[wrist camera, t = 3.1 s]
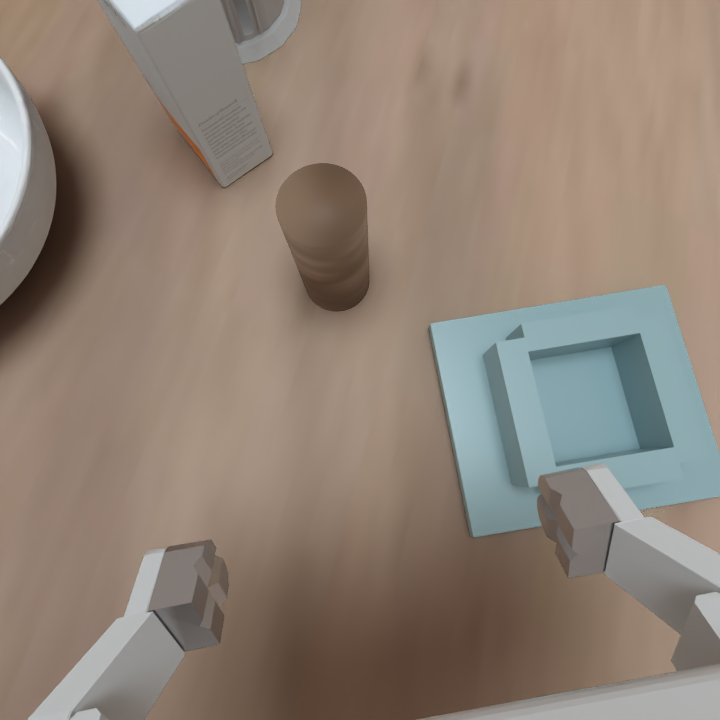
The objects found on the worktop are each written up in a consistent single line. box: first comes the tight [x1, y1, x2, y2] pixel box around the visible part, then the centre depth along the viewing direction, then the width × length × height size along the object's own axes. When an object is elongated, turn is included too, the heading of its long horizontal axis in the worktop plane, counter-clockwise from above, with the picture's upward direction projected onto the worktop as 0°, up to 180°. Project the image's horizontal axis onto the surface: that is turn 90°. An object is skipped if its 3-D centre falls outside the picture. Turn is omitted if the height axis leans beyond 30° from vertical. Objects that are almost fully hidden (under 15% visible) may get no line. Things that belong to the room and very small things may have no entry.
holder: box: [428, 285, 720, 537], centre depth 25 cm, size 14×12×4 cm
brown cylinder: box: [276, 163, 369, 311], centre depth 25 cm, size 4×4×9 cm
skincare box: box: [98, 0, 273, 187], centre depth 26 cm, size 6×4×12 cm
